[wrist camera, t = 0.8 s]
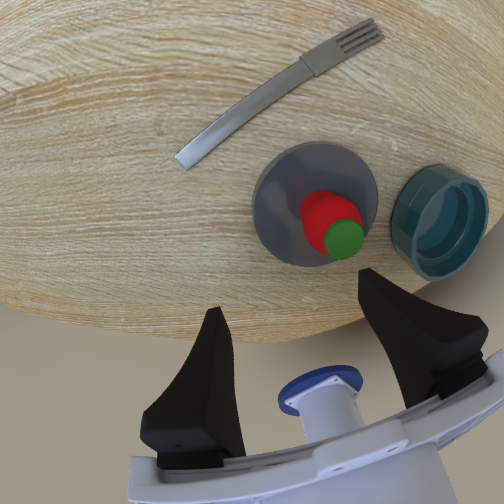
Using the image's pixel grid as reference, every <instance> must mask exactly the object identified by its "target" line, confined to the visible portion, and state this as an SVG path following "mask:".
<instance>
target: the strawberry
mask: <svg viewBox="0 0 504 504" xmlns="http://www.w3.org/2000/svg"><path fill="white" fill-rule="evenodd" d="M300 217H301V220H302V222H303V231H304V235H305V237H306V239H307V241H308V243H309V244H310V245H311V246H312V247H313V248H314V249H315V250H316V251H318V252H320V253H322V254H326V255H330V256H331V257H333V258H335V259H347V258H350V257H352V256H353V255H355V254H356V253H357V252H358V251H359V250H360V248H361V246H362V244H363V241H364V232H363V229H362V220H361V216H360V214H359V212H358V210H357V208H356V207H355V206H354V205H353V204H352V203H351V202H350V201H349V200H347V199H345V198H343V197H340V196H336V195H334V194H333V193H331V192H329V191H325V190H320V191H316V192H313V193H311V194H310V195H308V196H307V197H306V198H305V200H304V201H303V203H302V205H301V208H300Z"/></svg>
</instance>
